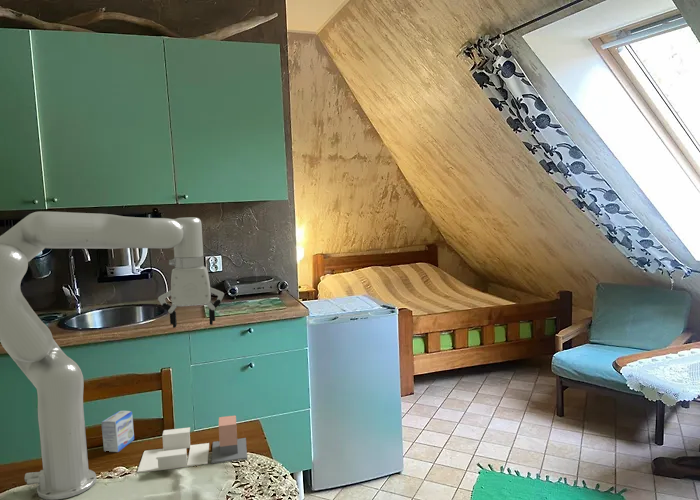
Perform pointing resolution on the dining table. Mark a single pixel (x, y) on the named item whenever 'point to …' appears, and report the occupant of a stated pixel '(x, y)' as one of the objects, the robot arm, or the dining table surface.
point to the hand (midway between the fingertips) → (193, 325)
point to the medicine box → (117, 431)
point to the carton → (174, 452)
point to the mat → (240, 455)
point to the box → (228, 435)
